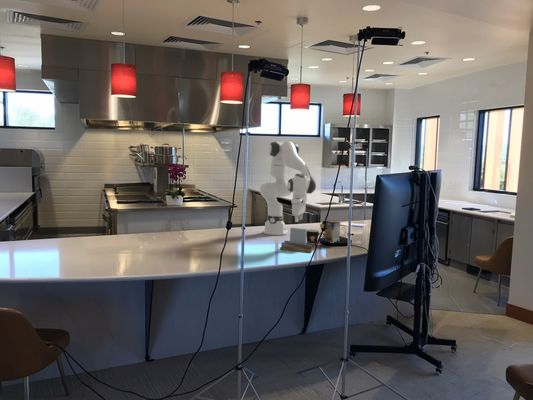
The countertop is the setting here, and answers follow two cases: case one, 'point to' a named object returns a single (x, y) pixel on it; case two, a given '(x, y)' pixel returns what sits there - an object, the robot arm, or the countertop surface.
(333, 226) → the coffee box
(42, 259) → the countertop surface
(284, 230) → the robot arm
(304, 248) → the brown flat box
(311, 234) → the coffee mug
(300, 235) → the grey rectangular block
